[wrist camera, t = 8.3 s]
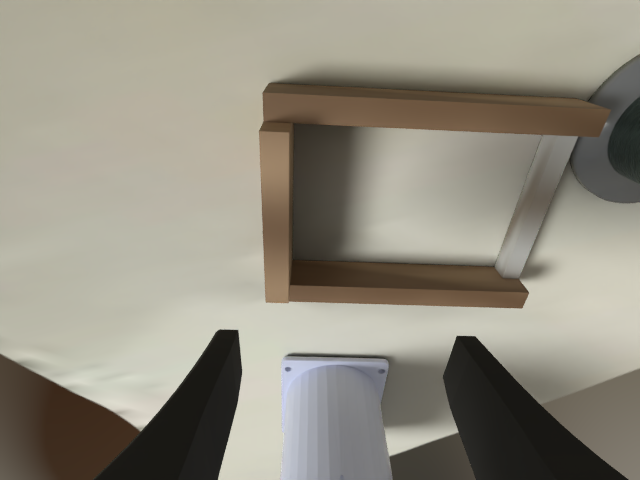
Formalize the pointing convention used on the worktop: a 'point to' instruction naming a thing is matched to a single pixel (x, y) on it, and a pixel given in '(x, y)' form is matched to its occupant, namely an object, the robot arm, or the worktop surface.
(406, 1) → the worktop surface
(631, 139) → the tin can
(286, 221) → the frame
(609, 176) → the coaster
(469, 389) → the robot arm
